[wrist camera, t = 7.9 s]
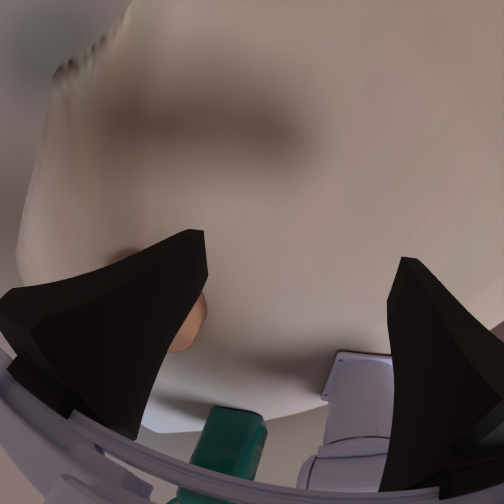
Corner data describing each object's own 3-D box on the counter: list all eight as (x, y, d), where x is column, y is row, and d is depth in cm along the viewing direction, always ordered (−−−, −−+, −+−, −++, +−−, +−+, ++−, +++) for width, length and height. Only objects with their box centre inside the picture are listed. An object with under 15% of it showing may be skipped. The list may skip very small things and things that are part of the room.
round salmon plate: (212, 337, 30) (200, 362, 27) (135, 317, 32) (121, 337, 29) (202, 261, 25) (185, 285, 22) (113, 245, 27) (93, 264, 24)
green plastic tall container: (262, 412, 36) (217, 548, 18) (269, 433, 40) (233, 548, 22) (200, 401, 39) (146, 522, 21) (215, 424, 43) (172, 529, 25)
